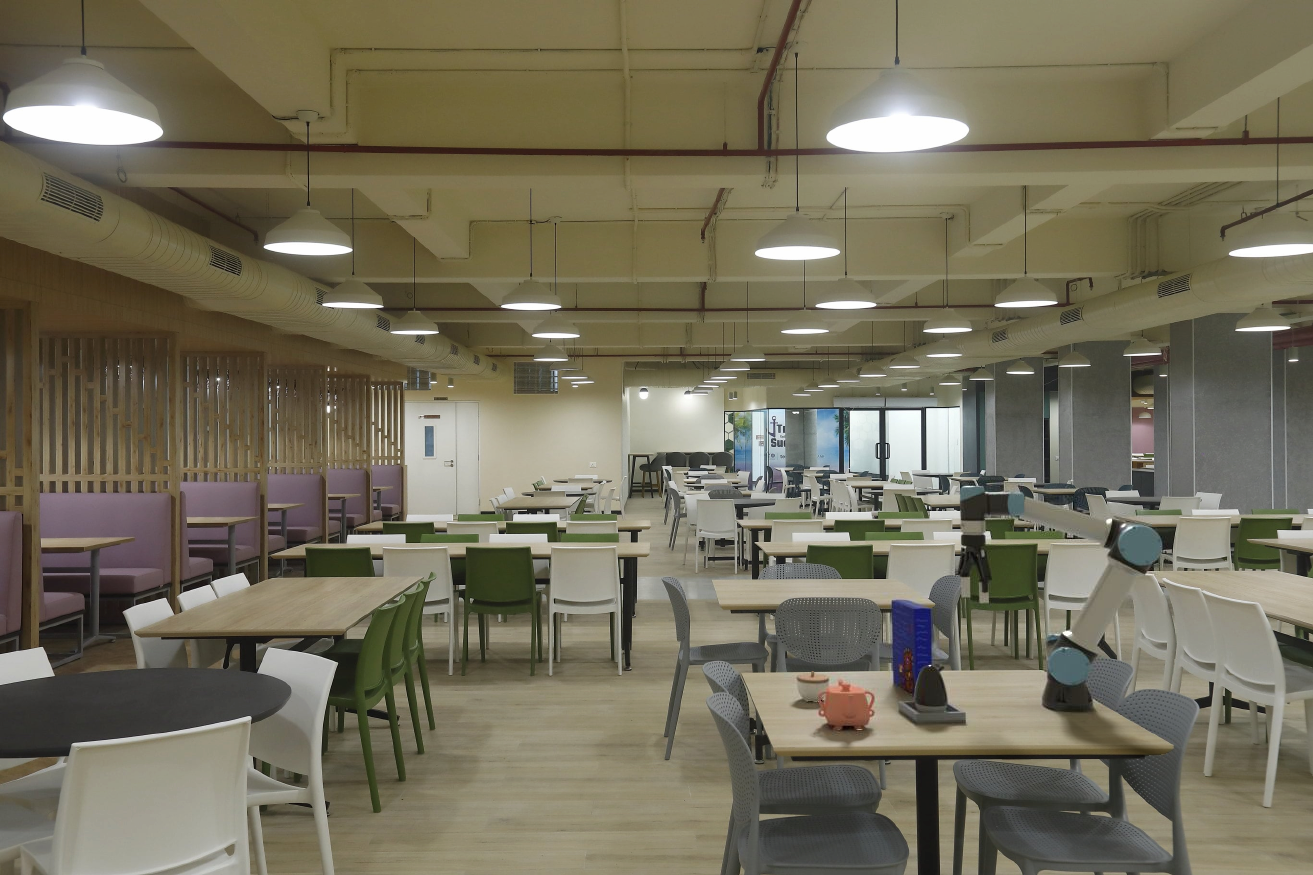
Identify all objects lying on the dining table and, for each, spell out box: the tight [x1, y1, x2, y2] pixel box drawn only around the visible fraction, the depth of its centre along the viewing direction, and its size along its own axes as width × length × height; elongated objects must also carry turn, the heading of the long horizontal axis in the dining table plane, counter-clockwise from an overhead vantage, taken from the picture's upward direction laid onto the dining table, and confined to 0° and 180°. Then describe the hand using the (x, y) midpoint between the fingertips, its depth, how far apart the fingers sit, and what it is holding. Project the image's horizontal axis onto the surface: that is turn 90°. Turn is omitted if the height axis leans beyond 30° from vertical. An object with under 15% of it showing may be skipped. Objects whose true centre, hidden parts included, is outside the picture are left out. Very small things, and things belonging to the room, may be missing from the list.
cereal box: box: [891, 599, 933, 697], centre depth 316 cm, size 22×6×30 cm, turn 5°
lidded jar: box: [796, 671, 830, 703], centre depth 302 cm, size 11×11×9 cm
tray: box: [897, 700, 967, 725], centre depth 280 cm, size 15×15×3 cm
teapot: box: [817, 678, 876, 730], centre depth 271 cm, size 15×17×13 cm
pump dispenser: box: [913, 664, 949, 713], centre depth 280 cm, size 10×10×15 cm
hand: (974, 599), depth 290 cm, fingers open, 13 cm apart
